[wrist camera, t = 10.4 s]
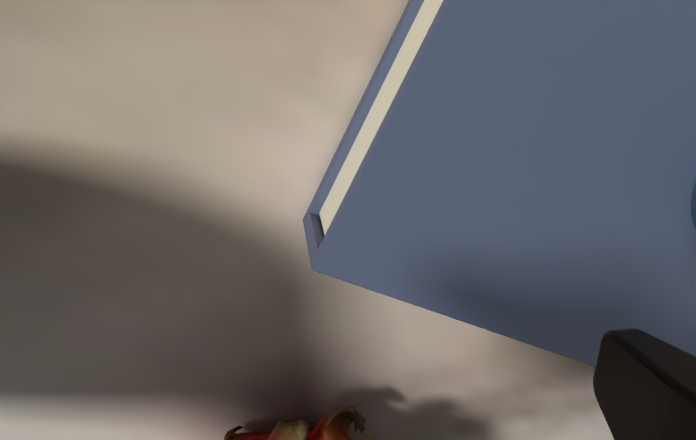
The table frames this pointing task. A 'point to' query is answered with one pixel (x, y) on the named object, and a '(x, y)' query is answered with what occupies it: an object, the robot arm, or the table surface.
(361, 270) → the book
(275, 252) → the table surface
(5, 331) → the table surface
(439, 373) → the table surface
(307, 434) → the dragon fruit
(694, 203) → the teal smooth upright cylinder
